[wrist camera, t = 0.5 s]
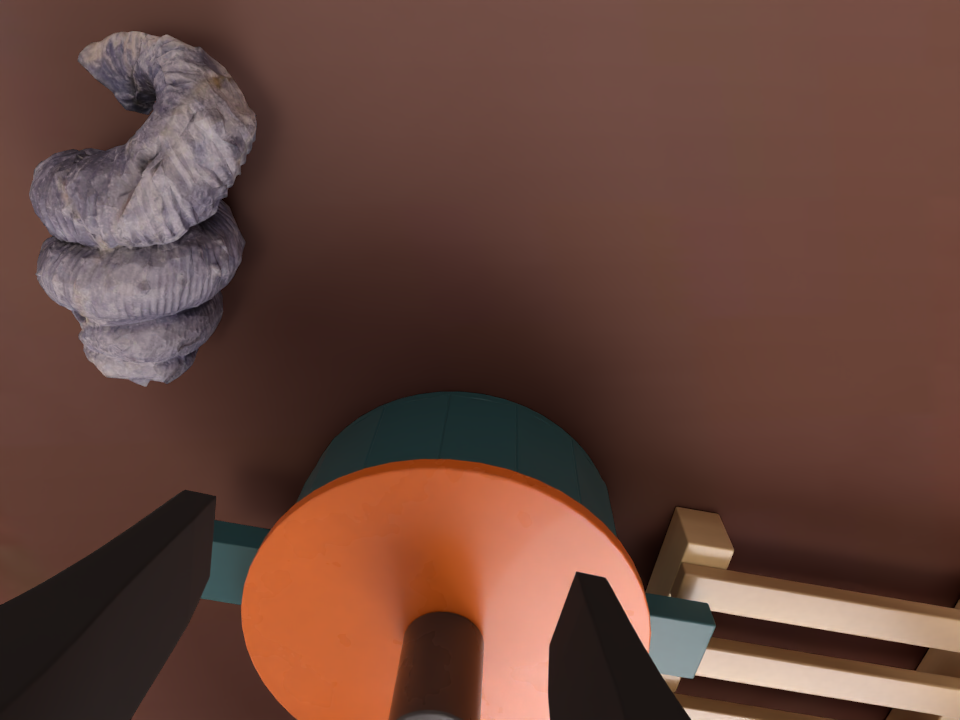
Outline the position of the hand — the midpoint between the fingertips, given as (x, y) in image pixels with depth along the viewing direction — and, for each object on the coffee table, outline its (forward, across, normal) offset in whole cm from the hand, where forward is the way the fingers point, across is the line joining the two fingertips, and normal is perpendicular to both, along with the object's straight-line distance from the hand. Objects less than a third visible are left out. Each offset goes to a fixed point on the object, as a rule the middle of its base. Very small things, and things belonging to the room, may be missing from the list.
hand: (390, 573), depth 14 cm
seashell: (+10, +8, -3) cm, 14 cm away
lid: (+5, -2, +6) cm, 9 cm away
